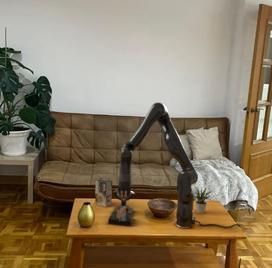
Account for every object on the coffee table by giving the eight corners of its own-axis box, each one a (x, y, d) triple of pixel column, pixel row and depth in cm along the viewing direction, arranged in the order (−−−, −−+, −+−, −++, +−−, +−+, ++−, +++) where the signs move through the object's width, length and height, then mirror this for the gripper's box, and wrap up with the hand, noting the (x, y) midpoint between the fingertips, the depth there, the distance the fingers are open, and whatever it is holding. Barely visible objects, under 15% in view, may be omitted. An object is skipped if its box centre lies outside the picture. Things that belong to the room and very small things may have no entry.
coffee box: (111, 204, 235) (113, 180, 233) (105, 207, 230) (106, 182, 227) (100, 201, 240) (101, 177, 237) (94, 203, 235) (95, 179, 232)
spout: (122, 214, 214) (123, 205, 213) (125, 214, 213) (126, 206, 212) (116, 218, 206) (117, 210, 205) (119, 219, 205) (120, 210, 205)
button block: (133, 211, 227) (133, 205, 226) (130, 216, 218) (131, 210, 217) (115, 209, 228) (116, 203, 227) (112, 214, 219) (113, 208, 218)
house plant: (212, 218, 223) (215, 193, 220) (189, 215, 225) (192, 190, 222) (211, 209, 237) (214, 185, 234) (190, 207, 239) (192, 183, 236)
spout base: (133, 218, 215) (133, 213, 215) (130, 227, 203) (130, 222, 203) (112, 216, 217) (112, 211, 216) (107, 225, 205) (107, 219, 204)
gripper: (136, 178, 222) (135, 205, 225) (115, 176, 223) (114, 203, 227) (134, 182, 215) (133, 209, 218) (112, 180, 216) (111, 207, 219)
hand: (123, 206), depth 222 cm, fingers closed
